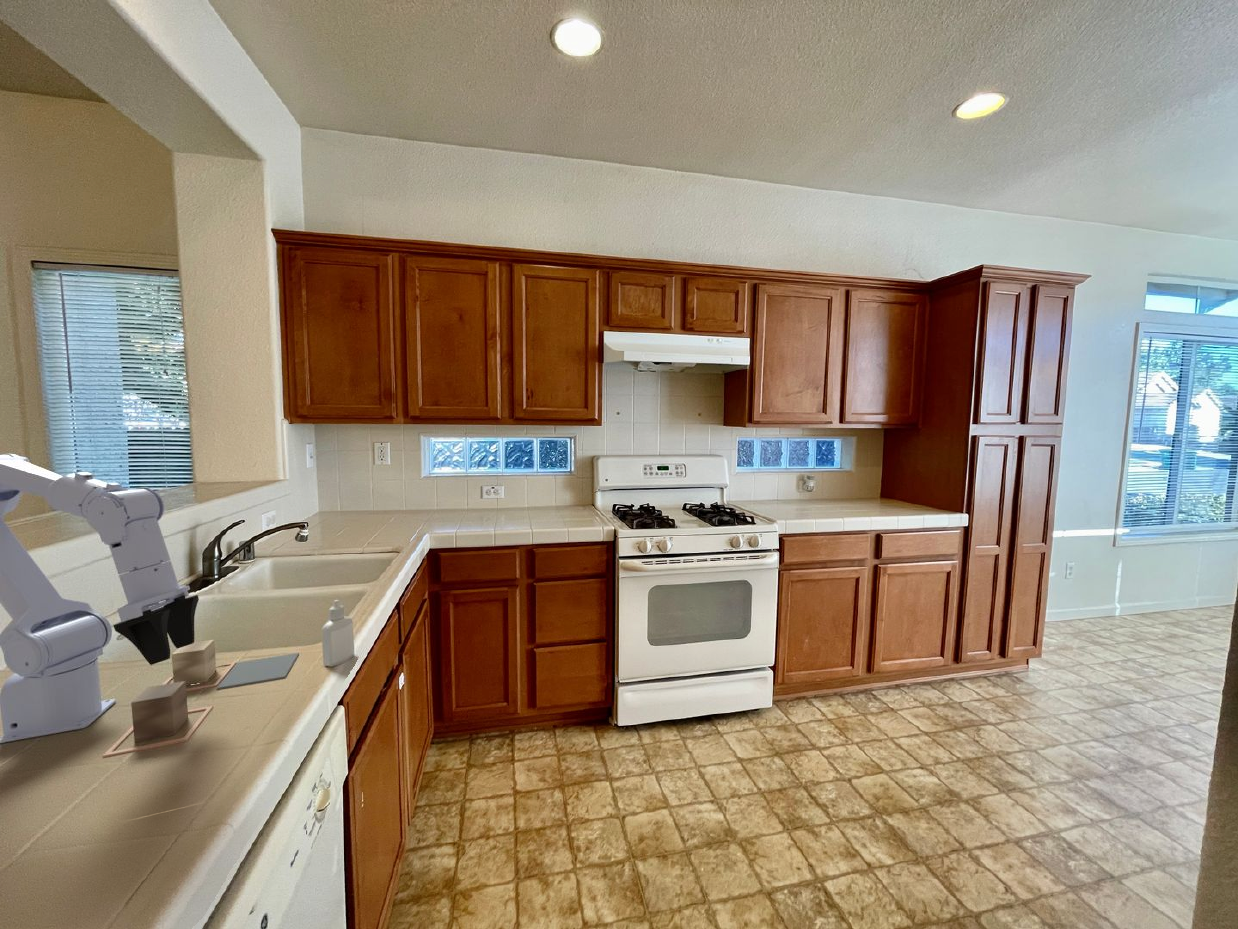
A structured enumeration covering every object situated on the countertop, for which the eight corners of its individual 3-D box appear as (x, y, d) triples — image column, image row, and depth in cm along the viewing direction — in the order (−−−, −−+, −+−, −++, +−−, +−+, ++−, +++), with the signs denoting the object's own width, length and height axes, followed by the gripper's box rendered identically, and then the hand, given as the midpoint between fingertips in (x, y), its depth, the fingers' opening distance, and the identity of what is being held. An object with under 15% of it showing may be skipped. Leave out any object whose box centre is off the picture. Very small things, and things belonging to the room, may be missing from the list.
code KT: (102, 758, 66) (102, 755, 66) (139, 720, 74) (139, 719, 74) (187, 741, 69) (187, 739, 69) (213, 707, 78) (213, 705, 78)
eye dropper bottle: (358, 659, 94) (355, 599, 93) (325, 669, 90) (322, 607, 89) (352, 652, 97) (349, 594, 96) (320, 661, 93) (316, 601, 92)
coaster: (216, 690, 83) (216, 687, 83) (237, 664, 92) (237, 662, 92) (285, 678, 87) (285, 676, 87) (298, 654, 96) (298, 653, 96)
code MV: (149, 697, 81) (149, 696, 81) (176, 672, 89) (175, 671, 89) (217, 686, 84) (217, 685, 84) (236, 663, 93) (236, 661, 93)
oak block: (174, 687, 84) (171, 654, 84) (186, 675, 88) (183, 643, 88) (206, 682, 86) (203, 649, 85) (216, 670, 90) (214, 639, 89)
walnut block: (134, 742, 69) (131, 702, 69) (151, 725, 73) (148, 687, 73) (174, 735, 71) (171, 695, 70) (188, 718, 75) (185, 681, 74)
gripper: (152, 565, 67) (182, 657, 67) (199, 553, 80) (224, 630, 81) (86, 583, 64) (118, 679, 65) (146, 567, 78) (172, 647, 78)
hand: (173, 653), depth 73 cm, fingers open, 7 cm apart
